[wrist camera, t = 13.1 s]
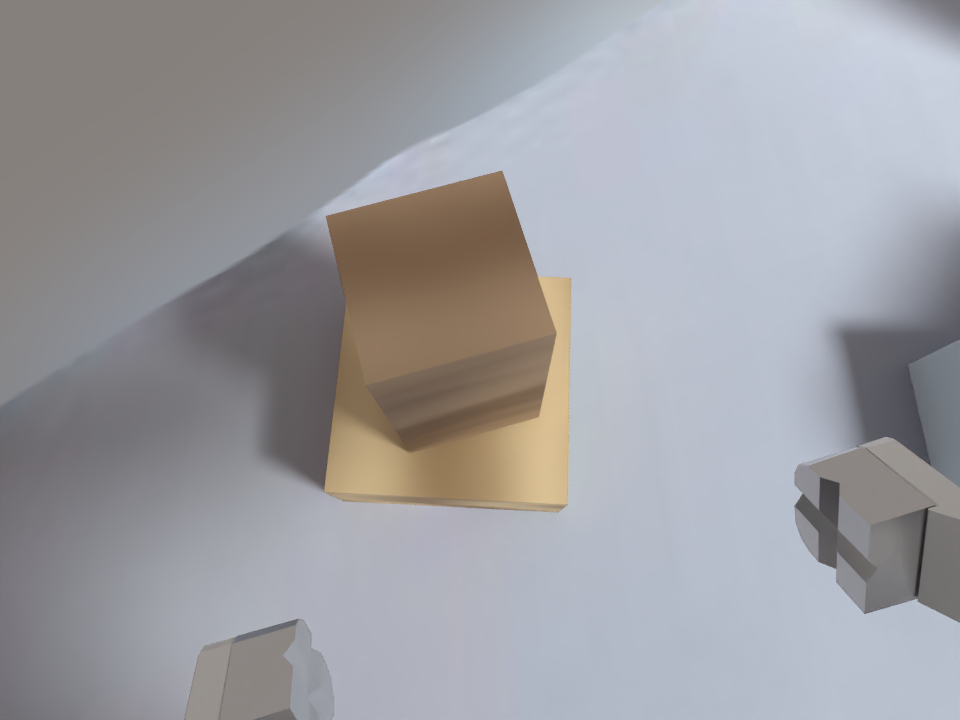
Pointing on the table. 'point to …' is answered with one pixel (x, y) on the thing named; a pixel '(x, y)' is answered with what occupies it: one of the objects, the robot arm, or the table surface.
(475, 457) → the oak base
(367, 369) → the walnut block
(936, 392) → the slate block
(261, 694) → the robot arm
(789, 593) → the table surface
